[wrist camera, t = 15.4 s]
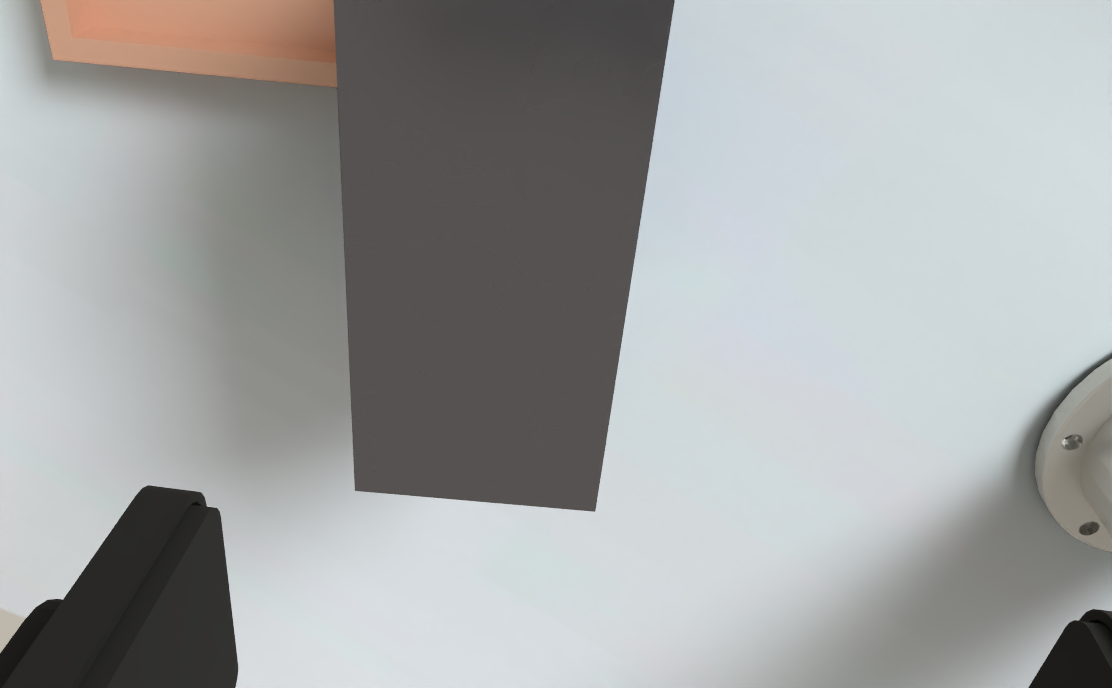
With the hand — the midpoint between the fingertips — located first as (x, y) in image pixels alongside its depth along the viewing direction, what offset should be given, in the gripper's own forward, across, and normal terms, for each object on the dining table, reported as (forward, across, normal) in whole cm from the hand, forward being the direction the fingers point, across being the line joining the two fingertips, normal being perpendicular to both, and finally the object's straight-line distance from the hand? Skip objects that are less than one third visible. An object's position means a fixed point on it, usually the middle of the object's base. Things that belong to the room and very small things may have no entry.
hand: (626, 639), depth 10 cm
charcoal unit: (+25, +4, +2) cm, 25 cm away
